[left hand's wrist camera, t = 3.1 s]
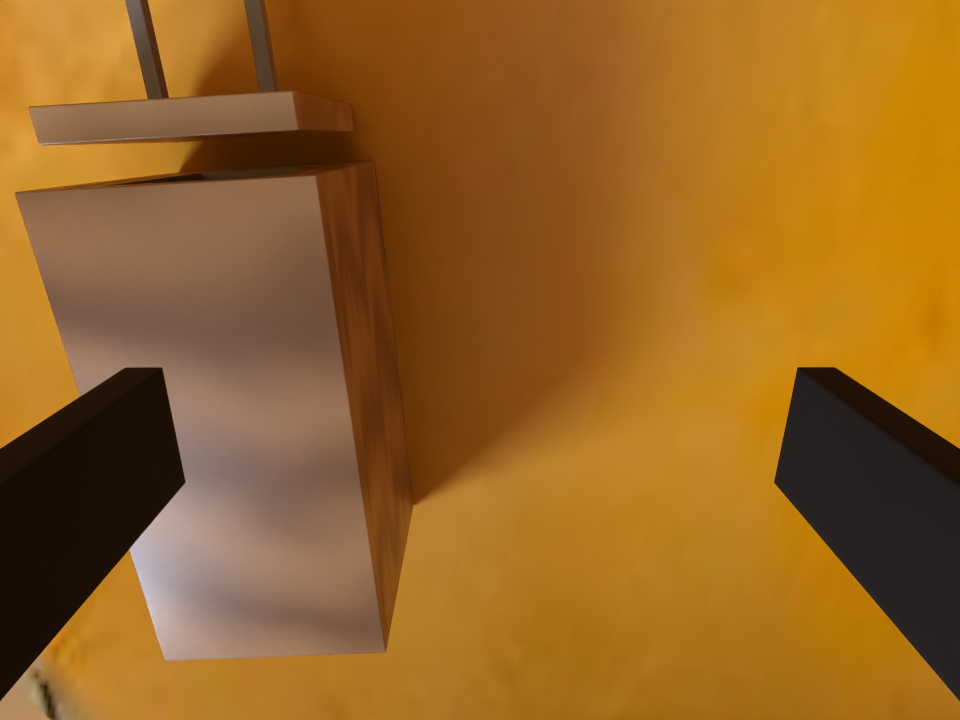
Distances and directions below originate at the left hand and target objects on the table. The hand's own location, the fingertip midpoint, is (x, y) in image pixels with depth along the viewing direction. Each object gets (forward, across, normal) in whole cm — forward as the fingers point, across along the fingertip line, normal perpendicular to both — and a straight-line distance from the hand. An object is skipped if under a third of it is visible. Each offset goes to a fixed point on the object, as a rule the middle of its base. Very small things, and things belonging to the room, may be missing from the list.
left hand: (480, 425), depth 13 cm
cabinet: (+20, -10, -6) cm, 23 cm away
